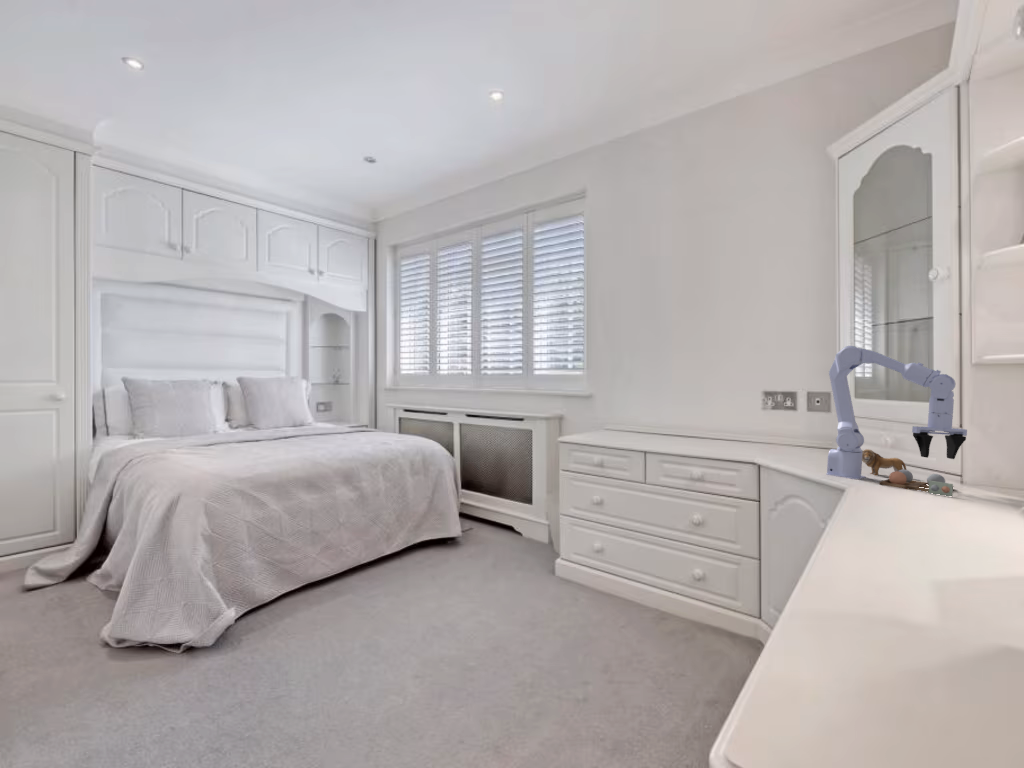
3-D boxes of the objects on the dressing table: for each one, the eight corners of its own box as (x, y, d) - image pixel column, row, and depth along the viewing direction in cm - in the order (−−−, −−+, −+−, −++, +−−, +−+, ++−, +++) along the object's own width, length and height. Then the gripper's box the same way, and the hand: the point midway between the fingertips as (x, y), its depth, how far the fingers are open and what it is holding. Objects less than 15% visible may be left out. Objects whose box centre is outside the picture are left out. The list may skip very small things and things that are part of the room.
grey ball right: (924, 487, 158) (925, 473, 158) (928, 486, 160) (929, 472, 160) (943, 490, 154) (944, 475, 154) (946, 488, 157) (947, 474, 157)
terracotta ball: (886, 484, 159) (887, 470, 159) (890, 483, 162) (891, 469, 162) (904, 487, 156) (904, 473, 156) (908, 486, 159) (908, 472, 159)
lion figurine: (862, 475, 177) (864, 449, 177) (857, 473, 182) (859, 448, 182) (913, 480, 172) (914, 453, 172) (907, 477, 177) (908, 451, 177)
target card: (928, 494, 148) (929, 480, 148) (928, 494, 149) (929, 480, 148) (951, 498, 144) (952, 484, 144) (952, 498, 145) (952, 483, 144)
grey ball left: (893, 482, 164) (894, 468, 164) (897, 481, 167) (898, 467, 167) (910, 485, 160) (911, 471, 160) (914, 483, 163) (915, 470, 163)
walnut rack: (879, 485, 159) (879, 481, 159) (893, 480, 169) (893, 477, 169) (942, 495, 148) (943, 491, 148) (953, 490, 157) (954, 486, 157)
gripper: (925, 413, 152) (922, 458, 153) (976, 415, 151) (973, 461, 152) (908, 411, 159) (905, 454, 160) (957, 414, 158) (954, 457, 159)
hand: (937, 457), depth 156 cm, fingers open, 7 cm apart
